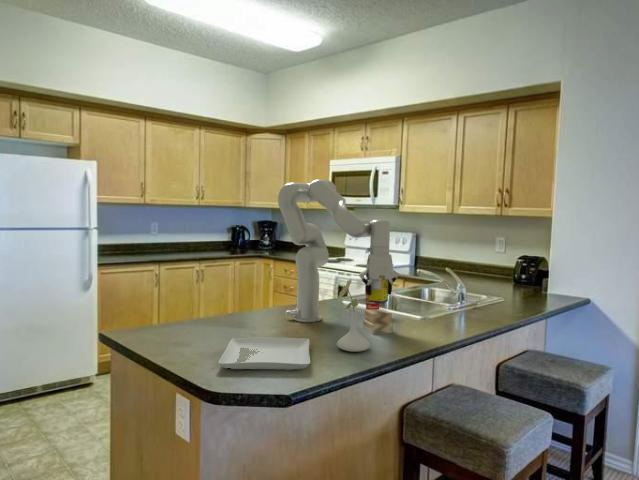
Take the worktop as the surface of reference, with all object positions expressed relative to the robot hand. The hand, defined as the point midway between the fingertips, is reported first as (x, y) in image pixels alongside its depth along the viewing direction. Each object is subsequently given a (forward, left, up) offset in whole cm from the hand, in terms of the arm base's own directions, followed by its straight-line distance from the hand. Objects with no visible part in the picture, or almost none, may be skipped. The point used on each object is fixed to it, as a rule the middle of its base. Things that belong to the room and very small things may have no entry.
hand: (378, 294), depth 189 cm
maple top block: (0, 0, -11) cm, 11 cm away
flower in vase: (-20, -22, -15) cm, 33 cm away
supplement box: (0, 0, -3) cm, 3 cm away
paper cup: (+9, +24, -15) cm, 30 cm away
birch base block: (0, 0, -15) cm, 15 cm away
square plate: (-50, -24, -15) cm, 57 cm away
